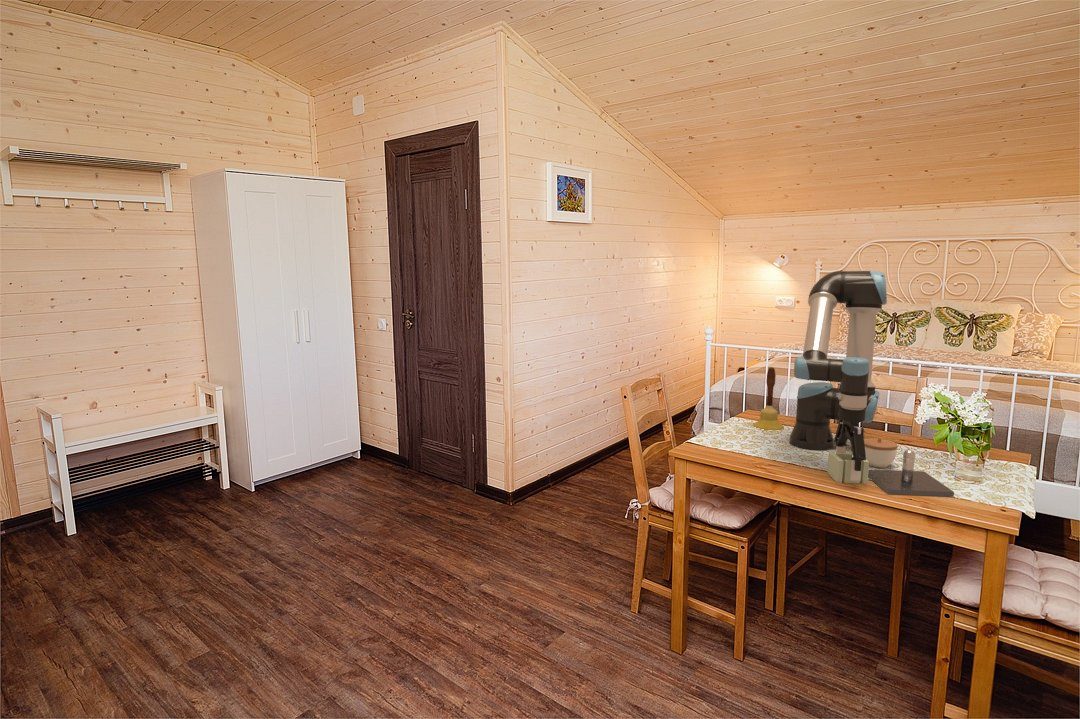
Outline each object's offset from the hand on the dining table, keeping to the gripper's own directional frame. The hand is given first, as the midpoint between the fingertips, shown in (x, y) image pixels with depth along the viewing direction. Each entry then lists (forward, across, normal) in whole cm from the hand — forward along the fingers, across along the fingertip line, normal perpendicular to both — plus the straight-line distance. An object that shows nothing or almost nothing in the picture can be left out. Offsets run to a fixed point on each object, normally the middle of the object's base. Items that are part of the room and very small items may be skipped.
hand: (847, 473), depth 195 cm
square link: (+2, 0, 0) cm, 2 cm away
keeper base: (+2, +4, +16) cm, 17 cm away
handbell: (+2, -61, -10) cm, 62 cm away
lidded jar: (+2, -15, +15) cm, 22 cm away
